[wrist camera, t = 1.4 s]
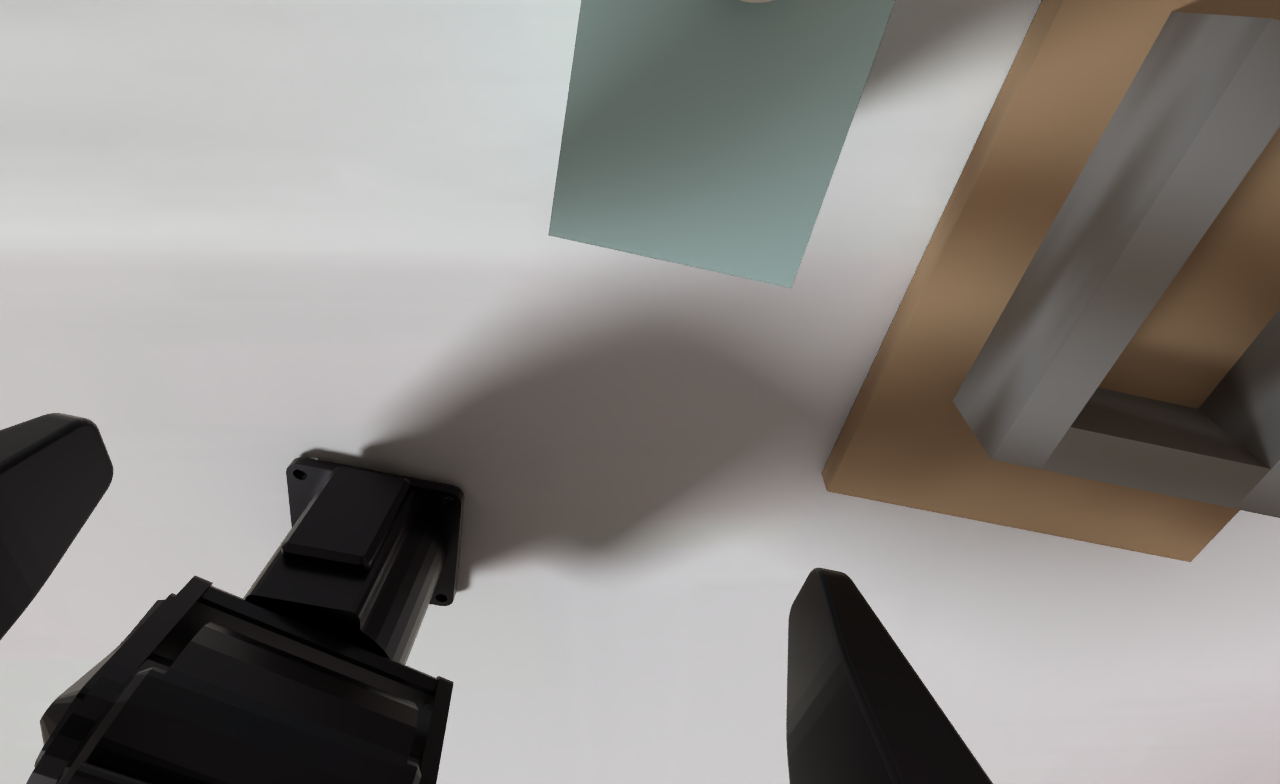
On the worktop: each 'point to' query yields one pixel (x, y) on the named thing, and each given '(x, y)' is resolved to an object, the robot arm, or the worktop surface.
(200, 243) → the worktop surface
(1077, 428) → the caddy
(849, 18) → the block
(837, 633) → the robot arm
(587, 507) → the worktop surface
